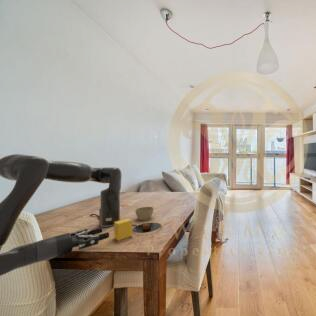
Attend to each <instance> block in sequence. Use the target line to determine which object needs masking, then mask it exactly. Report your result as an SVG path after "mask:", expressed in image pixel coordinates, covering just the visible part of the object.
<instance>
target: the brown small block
mask: <svg viewBox="0 0 316 316" xmlns="http://www.w3.org/2000/svg"><path fill="white" fill-rule="evenodd" d="M146 223H147V222H146ZM146 223H143V224H144V225H142V229H149V228H150V227H151V224H146Z"/></svg>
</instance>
